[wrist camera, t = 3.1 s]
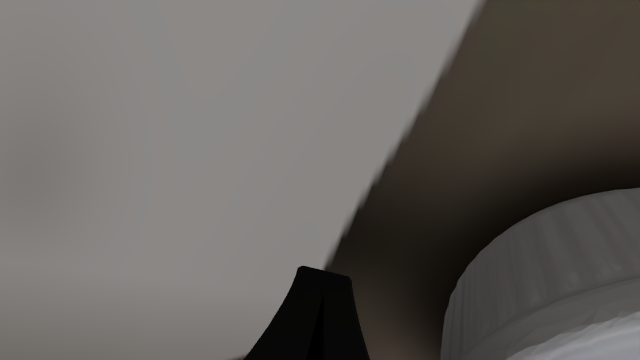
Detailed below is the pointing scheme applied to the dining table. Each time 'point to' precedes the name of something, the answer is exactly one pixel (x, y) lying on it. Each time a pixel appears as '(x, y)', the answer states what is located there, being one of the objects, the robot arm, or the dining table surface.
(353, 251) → the dining table surface
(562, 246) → the ramekin
